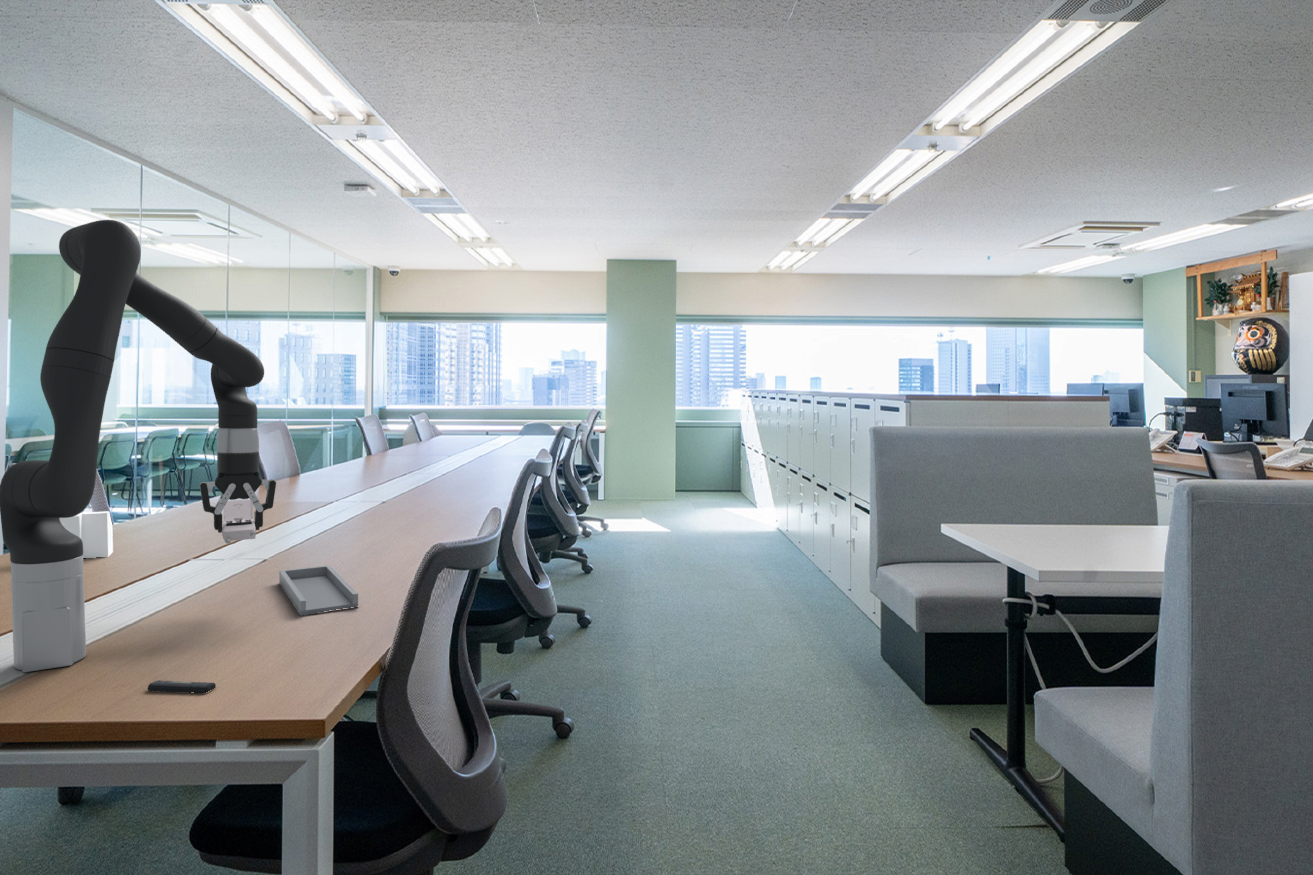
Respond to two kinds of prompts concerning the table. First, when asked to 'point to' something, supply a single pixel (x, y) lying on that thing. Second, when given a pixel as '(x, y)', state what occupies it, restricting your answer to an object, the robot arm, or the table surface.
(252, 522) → the mobile phone
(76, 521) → the corner bracket
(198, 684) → the dark grey rounded bar
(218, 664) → the table surface
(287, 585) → the phone dock
